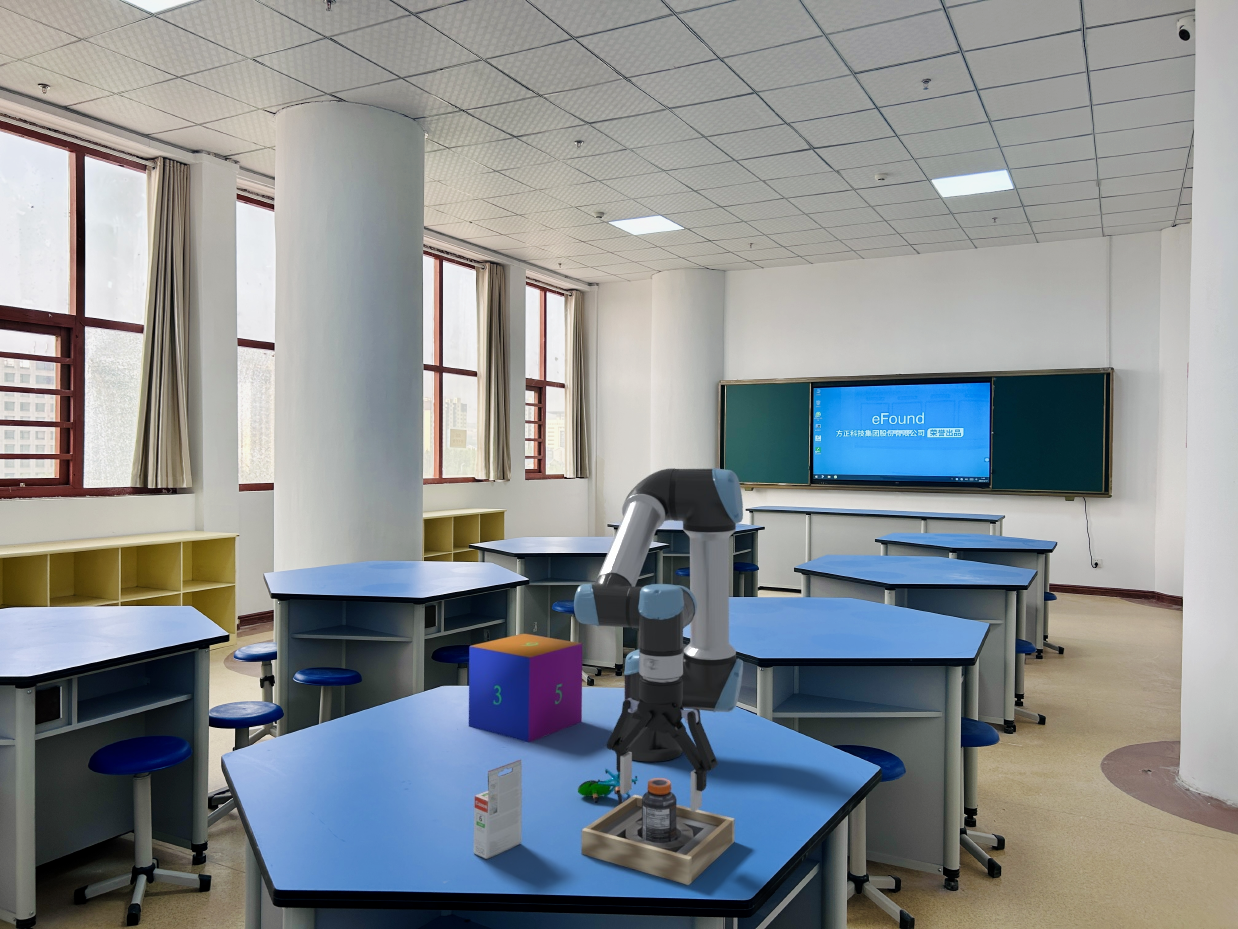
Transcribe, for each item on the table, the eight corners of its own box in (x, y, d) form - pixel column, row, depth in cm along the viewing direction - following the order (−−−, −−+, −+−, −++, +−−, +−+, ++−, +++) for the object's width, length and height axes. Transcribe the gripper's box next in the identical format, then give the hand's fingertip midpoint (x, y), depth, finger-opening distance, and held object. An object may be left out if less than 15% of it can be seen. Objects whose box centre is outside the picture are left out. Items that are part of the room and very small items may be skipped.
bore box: (581, 853, 142) (581, 830, 142) (634, 816, 158) (634, 794, 158) (688, 885, 132) (688, 859, 132) (734, 841, 147) (734, 818, 147)
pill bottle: (658, 836, 149) (658, 772, 149) (683, 848, 145) (684, 781, 145) (634, 847, 145) (635, 781, 145) (659, 859, 141) (660, 791, 141)
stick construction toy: (639, 780, 170) (631, 758, 165) (646, 812, 164) (637, 789, 159) (582, 797, 170) (572, 775, 165) (586, 829, 164) (576, 807, 160)
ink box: (472, 854, 142) (473, 766, 142) (507, 838, 148) (508, 754, 148) (487, 860, 140) (487, 772, 140) (522, 844, 146) (523, 759, 146)
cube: (523, 708, 227) (523, 633, 227) (581, 722, 215) (582, 643, 215) (468, 726, 211) (469, 646, 211) (528, 742, 199) (529, 657, 199)
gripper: (587, 671, 148) (587, 792, 148) (718, 692, 135) (718, 824, 136) (610, 662, 155) (609, 777, 155) (737, 681, 142) (736, 807, 142)
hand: (660, 800), depth 145 cm, fingers open, 13 cm apart
